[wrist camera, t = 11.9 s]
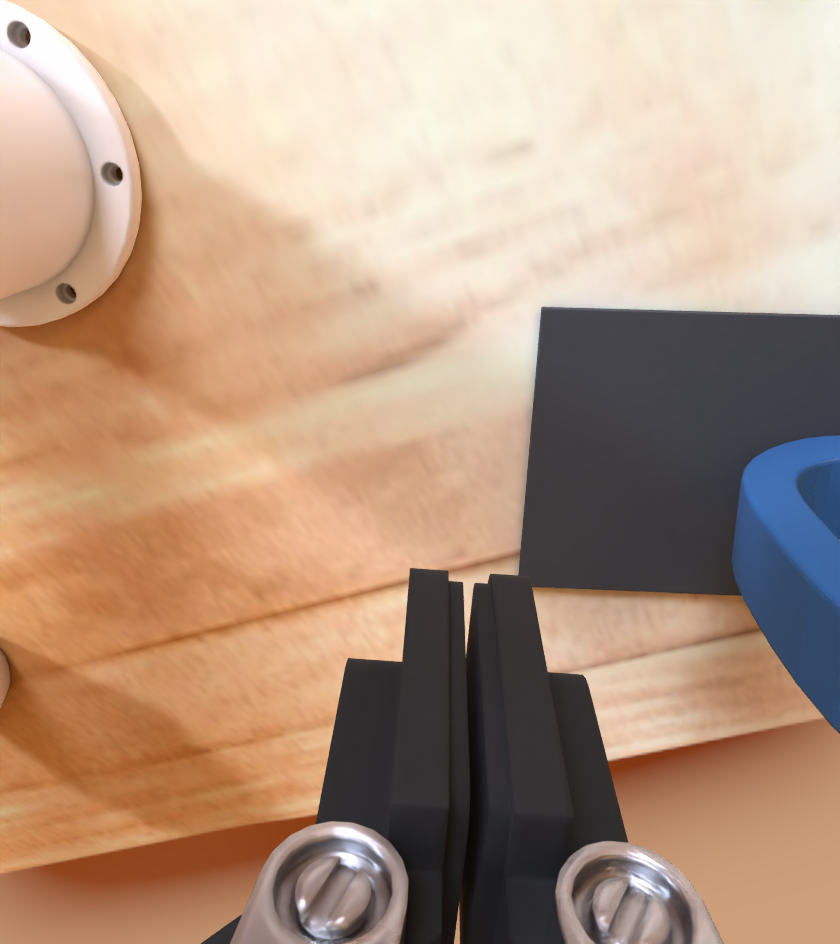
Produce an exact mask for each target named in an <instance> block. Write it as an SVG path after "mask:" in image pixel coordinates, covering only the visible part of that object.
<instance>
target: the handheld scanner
mask: <svg viewBox="0 0 840 944" xmlns="http://www.w3.org/2000/svg"><path fill="white" fill-rule="evenodd" d="M839 539H840V435H836V436H821V437H812V438H805V439H801V440H796V441H792V442H788V443H785V444H782V445H779V446H776V447H773V448H770V449H768V450H766V451H765V452H763V453H761V454H760V455H758V456H756V457H755V458H753V460H752V461H751V462H750V463H749V464H748V465H747V466H746V468H745V469H744V472H743V476H742V480H741V486H740V494H739V502H738V511H737V519H736V527H735V535H734V543H733V552H732V566H733V572H734V578H735V581H736V583H737V585H738V588H739V590H740V592H741V595H742V597H743V599H744V601H745V603H746V604H747V606H748V608H749V610H750V612H751V613H752V615H753V617H754V619H755V620H756V622H757V624H758V626H759V627H760V629H761V631H762V632H763V634H764V636H765V637H766V639H767V641H768V642H769V644H770V646H771V647H772V649H773V650H774V651H775V653H776V654H777V656H778V657H779V659H780V660H781V662H782V663H783V665H784V666H785V668H786V669H787V670H788V672H789V673H790V675H791V676H792V678H793V679H794V681H795V682H796V683H797V685H798V686H799V687H800V688H801V689H802V691H803V692H804V693H805V694H806V696H807V697H808V698H809V699H810V700H811V702H812V703H813V704H814V705H815V707H816V708H817V709H818V710H819V711H820V713H821V714H822V715H823V716H824V717H825V719H826V720H827V721H828V722H829V723H830V725H831V726H832V727H833V728H834V729H836V731H837V732H838V733H840V540H839Z"/></svg>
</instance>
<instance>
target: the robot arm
mask: <svg viewBox="0 0 840 944" xmlns="http://www.w3.org/2000/svg"><path fill="white" fill-rule="evenodd" d="M28 31H29V32H30V34H31V40H30V43H28V41H27V39H26V33H27V32H28ZM118 167H119V168H121V171H122V173H123V179H122V180H120V179H119V178H118V177H117V175H116V169H117V168H118ZM141 204H142V190H141V178H140V167H139V162H138V159H137V155H136V151H135V147H134V143H133V139H132V136H131V132H130V130H129V128H128V126H127V123H126V121H125V119H124V117H123V114H122V112H121V110H120V107H119V105H118V103H117V101H116V99H115V98H114V96H113V95H112V93H111V92H110V90H109V88H108V87H107V85H106V84H105V82H104V81H103V79H102V78H101V76H100V74H99V73H98V71H97V70H96V69H95V68H94V67H93V66H92V65H91V63H90V62H89V61H88V60H87V59H86V58H85V57H84V56H83V54H82V53H81V52H80V51H79V50H78V49H77V48H76V46H75V45H74V44H73V43H71V42H70V41H69V40H68V39H66V38H65V37H64V36H63V35H62V34H60V33H59V32H58V31H57V30H56V29H54V28H53V27H52V26H51V25H49V24H48V23H47V22H46V21H44V20H42V19H40V18H39V17H37V16H35V15H33V14H32V13H30V12H28V11H26V10H25V9H23V8H21V7H19V6H18V5H16V4H13V3H10V2H7V1H5V0H0V326H6V327H21V326H36V325H41V324H44V323H48V322H51V321H55V320H58V319H62V318H64V317H66V316H68V315H71V314H73V313H75V312H77V311H79V310H81V309H83V308H84V307H86V306H87V305H89V304H90V303H91V302H93V301H94V300H96V299H97V298H99V297H100V296H101V295H103V294H104V292H105V291H106V290H107V289H108V288H109V287H110V286H111V284H112V283H113V282H114V281H115V280H116V279H117V278H118V277H119V275H120V273H121V271H122V270H123V268H124V266H125V264H126V262H127V260H128V259H129V257H130V255H131V253H132V250H133V246H134V243H135V240H136V236H137V233H138V230H139V225H140V215H141ZM71 287H73V288H74V290H75V292H76V295H75V294H74V293H72V291H71ZM459 904H460V906H459ZM458 906H459V907H460V908H459V909H460V944H724V943H723V941H722V939H721V937H720V935H719V933H718V931H717V928H716V927H715V924H714V922H713V921H712V918H711V916H710V914H709V912H708V910H707V908H706V906H705V904H704V902H703V900H702V899H701V898H700V896H699V894H698V892H697V891H696V889H695V888H694V886H693V885H692V883H691V882H690V880H689V879H687V878H686V877H685V876H684V875H683V874H682V873H681V872H680V871H679V870H678V869H677V868H676V867H675V866H674V865H673V864H672V863H671V862H669V861H667V860H666V859H664V858H662V857H661V856H659V855H657V854H656V853H654V852H653V851H651V850H648V849H645V848H642V847H640V846H637V845H634V844H630V843H628V840H627V836H626V832H625V828H624V824H623V820H622V816H621V813H620V808H619V805H618V801H617V797H616V793H615V789H614V785H613V781H612V777H611V773H610V770H609V765H608V761H607V757H606V753H605V749H604V745H603V741H602V737H601V733H600V730H599V726H598V722H597V718H596V714H595V710H594V706H593V702H592V698H591V694H590V690H589V686H588V684H587V681H586V678H585V677H584V676H583V675H578V674H564V673H550V672H547V667H546V661H545V656H544V650H543V645H542V639H541V634H540V629H539V623H538V618H537V612H536V607H535V602H534V596H533V591H532V585H531V580H530V577H528V576H515V575H500V574H490V576H489V580H488V584H482V583H475V584H474V589H473V597H472V606H471V615H470V625H469V634H468V643H467V652H466V653H465V624H464V596H463V582H453V581H448V571H443V570H429V569H415V568H410V577H409V589H408V601H407V613H406V625H405V637H404V648H403V660H402V662H394V661H380V660H366V659H352V658H348V660H347V663H346V667H345V672H344V677H343V682H342V688H341V693H340V698H339V704H338V709H337V714H336V720H335V725H334V730H333V735H332V741H331V746H330V751H329V757H328V762H327V767H326V773H325V778H324V783H323V788H322V794H321V799H320V804H319V810H318V815H317V821H316V825H311V826H308V827H306V828H304V829H302V830H300V831H298V832H296V833H294V834H292V835H290V836H289V837H288V838H287V839H285V840H284V841H283V842H282V843H281V844H280V845H279V846H278V847H277V848H276V849H274V850H273V851H272V853H271V855H270V856H269V858H268V860H267V861H266V863H265V865H264V866H263V868H262V870H261V872H260V874H259V876H258V879H257V881H256V883H255V886H254V888H253V891H252V893H251V895H250V898H249V900H248V902H247V905H246V907H245V910H244V912H243V914H242V915H240V916H239V917H238V918H236V919H235V920H233V921H232V922H230V923H229V924H228V925H226V926H225V927H223V928H222V929H221V930H219V931H218V932H216V933H215V934H214V935H212V936H211V937H210V938H208V939H207V940H205V941H204V942H202V943H201V944H454V938H455V930H456V922H457V914H458Z"/></svg>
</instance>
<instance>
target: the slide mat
mask: <svg viewBox="0 0 840 944" xmlns="http://www.w3.org/2000/svg"><path fill="white" fill-rule="evenodd" d="M836 435H840V315H808V314H773V313H737V312H701V311H666V310H630V309H594V308H559V307H542V308H541V320H540V332H539V343H538V355H537V367H536V378H535V390H534V401H533V413H532V425H531V436H530V448H529V460H528V471H527V483H526V495H525V506H524V518H523V530H522V541H521V553H520V565H519V576H528V577H530V580H531V585H532V587H553V588H576V589H599V590H623V591H646V592H670V593H693V594H716V595H740V596H742V595H741V592H740V590H739V588H738V585H737V583H736V581H735V578H734V572H733V566H732V552H733V543H734V535H735V527H736V519H737V511H738V502H739V494H740V486H741V480H742V476H743V472H744V469H745V468H746V466H747V465H748V464H749V463H750V462H751V461H752V460H753V458H755V457H756V456H758V455H760V454H761V453H763V452H765V451H766V450H768V449H770V448H773V447H776V446H779V445H782V444H785V443H788V442H792V441H796V440H801V439H805V438H812V437H821V436H836ZM839 540H840V539H839Z"/></svg>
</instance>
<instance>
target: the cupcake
mask: <svg viewBox="0 0 840 944" xmlns="http://www.w3.org/2000/svg"><path fill="white" fill-rule="evenodd" d="M9 686H10V670H9V665H8V662H7V660H6V657H5V655H4V654H3V653H2V651H1V650H0V708H1V706H2V703H3V701H4V699H5V697H6V694H7V692H8V689H9Z"/></svg>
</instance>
